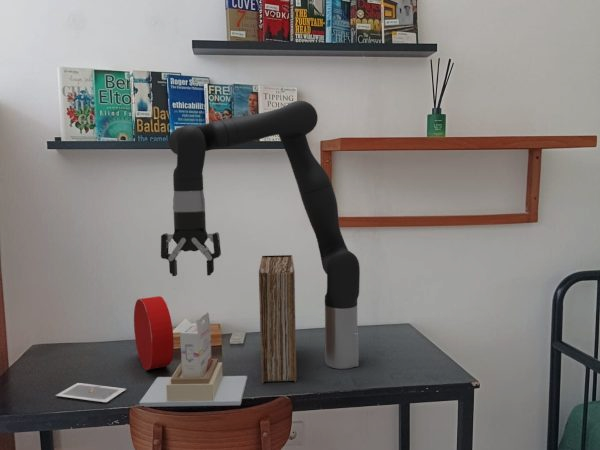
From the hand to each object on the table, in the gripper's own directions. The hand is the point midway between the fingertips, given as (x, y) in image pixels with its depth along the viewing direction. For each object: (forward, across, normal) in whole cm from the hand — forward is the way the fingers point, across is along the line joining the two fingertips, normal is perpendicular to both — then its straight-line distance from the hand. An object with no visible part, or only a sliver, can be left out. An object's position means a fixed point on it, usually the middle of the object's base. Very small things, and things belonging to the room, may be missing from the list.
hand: (191, 275), depth 121 cm
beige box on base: (+30, 0, 0) cm, 30 cm away
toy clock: (+30, +16, -18) cm, 39 cm away
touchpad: (+31, +26, 0) cm, 40 cm away
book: (+30, -20, -17) cm, 40 cm away
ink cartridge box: (+25, 0, 0) cm, 25 cm away
